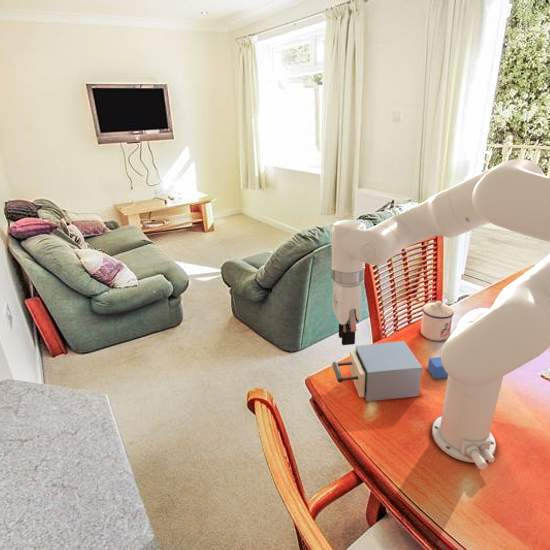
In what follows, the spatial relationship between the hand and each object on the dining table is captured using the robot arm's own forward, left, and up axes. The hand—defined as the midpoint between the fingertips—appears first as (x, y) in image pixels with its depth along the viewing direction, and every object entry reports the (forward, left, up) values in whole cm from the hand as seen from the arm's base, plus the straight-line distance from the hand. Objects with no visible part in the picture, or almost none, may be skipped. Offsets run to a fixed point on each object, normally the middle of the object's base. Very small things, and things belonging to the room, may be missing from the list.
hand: (346, 339), depth 94 cm
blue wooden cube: (+2, -26, -15) cm, 30 cm away
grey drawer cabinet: (0, -11, -15) cm, 19 cm away
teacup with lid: (+22, -35, -15) cm, 44 cm away
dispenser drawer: (0, -6, -14) cm, 15 cm away
